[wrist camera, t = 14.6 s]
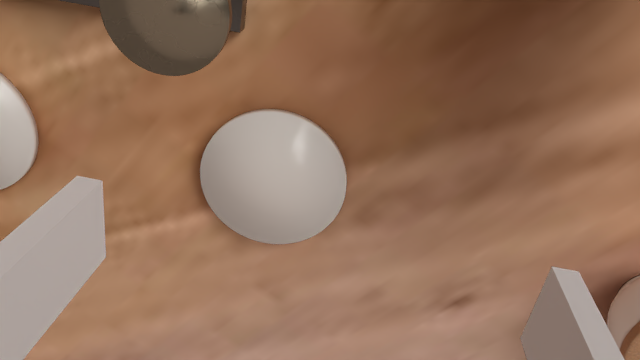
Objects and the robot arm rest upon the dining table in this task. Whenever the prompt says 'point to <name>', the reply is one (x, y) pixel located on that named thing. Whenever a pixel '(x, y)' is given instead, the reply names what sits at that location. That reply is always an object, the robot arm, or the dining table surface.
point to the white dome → (273, 176)
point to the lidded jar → (626, 319)
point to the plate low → (15, 134)
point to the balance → (170, 30)
